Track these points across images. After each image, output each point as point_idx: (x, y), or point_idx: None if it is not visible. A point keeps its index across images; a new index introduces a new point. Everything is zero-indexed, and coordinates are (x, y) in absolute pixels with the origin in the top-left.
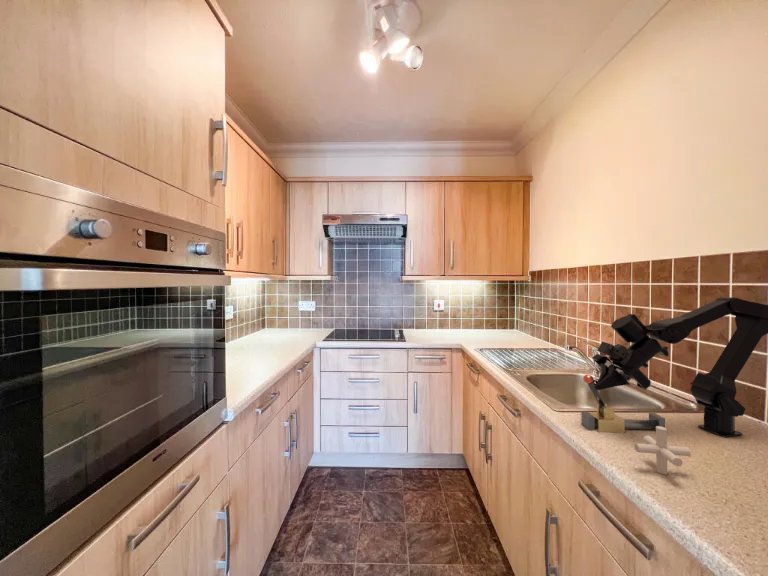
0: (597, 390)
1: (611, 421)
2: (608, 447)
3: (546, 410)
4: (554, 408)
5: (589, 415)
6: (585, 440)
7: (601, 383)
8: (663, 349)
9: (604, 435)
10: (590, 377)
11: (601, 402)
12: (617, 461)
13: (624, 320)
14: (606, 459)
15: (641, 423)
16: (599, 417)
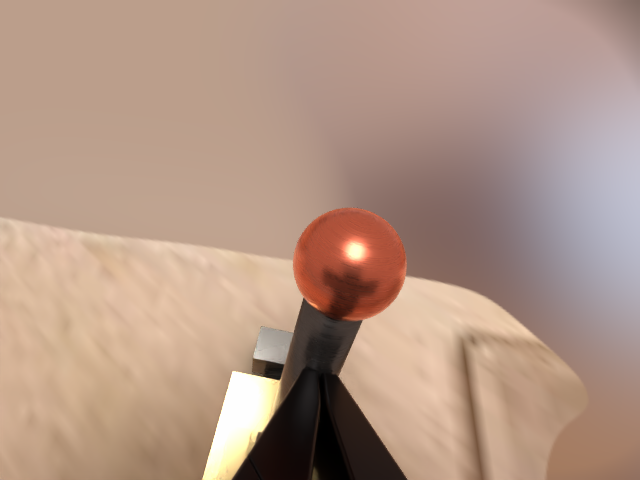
0: (293, 382)
1: (210, 457)
2: (100, 310)
3: (464, 301)
4: (494, 352)
5: (274, 344)
6: (182, 265)
7: (278, 411)
8: None
9: (196, 381)
10: (311, 239)
11: (268, 421)
12: (3, 259)
13: None
14: (37, 234)
15: None
16: (258, 403)
